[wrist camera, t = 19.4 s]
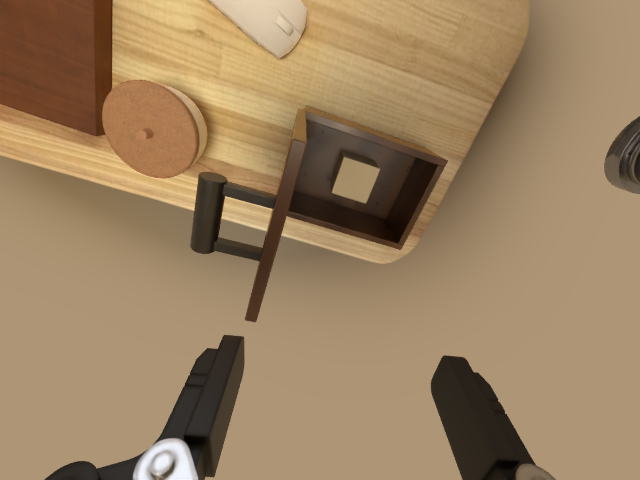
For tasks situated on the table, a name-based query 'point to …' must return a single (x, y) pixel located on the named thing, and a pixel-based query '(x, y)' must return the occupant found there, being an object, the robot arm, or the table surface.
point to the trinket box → (154, 128)
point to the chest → (389, 188)
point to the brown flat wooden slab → (57, 60)
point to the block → (354, 176)
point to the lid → (217, 187)
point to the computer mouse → (267, 21)
